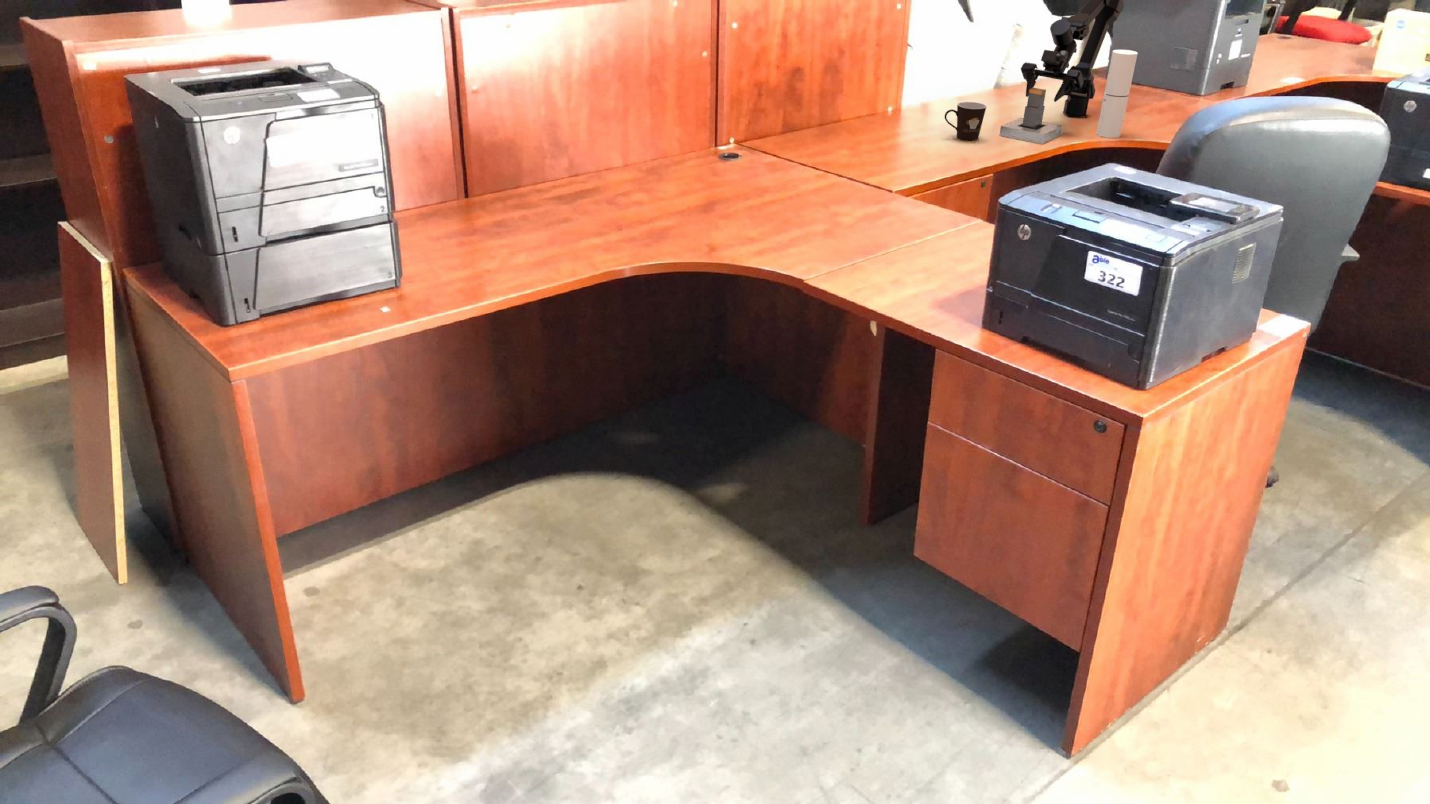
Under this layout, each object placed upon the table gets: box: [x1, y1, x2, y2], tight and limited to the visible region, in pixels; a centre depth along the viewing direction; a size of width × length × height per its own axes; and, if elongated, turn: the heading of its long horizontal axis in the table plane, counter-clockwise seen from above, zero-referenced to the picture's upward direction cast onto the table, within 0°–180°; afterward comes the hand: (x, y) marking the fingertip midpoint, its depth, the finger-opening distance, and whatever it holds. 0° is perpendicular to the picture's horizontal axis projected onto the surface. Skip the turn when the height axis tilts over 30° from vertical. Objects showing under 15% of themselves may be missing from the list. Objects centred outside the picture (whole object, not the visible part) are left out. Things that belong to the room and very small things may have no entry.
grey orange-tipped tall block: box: [1022, 87, 1047, 130], centre depth 319 cm, size 5×4×14 cm
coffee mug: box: [944, 101, 987, 142], centre depth 316 cm, size 12×9×10 cm
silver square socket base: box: [999, 117, 1064, 145], centre depth 322 cm, size 14×14×3 cm
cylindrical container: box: [1096, 49, 1138, 139], centre depth 319 cm, size 7×7×25 cm
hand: (1040, 98), depth 319 cm, fingers open, 9 cm apart
